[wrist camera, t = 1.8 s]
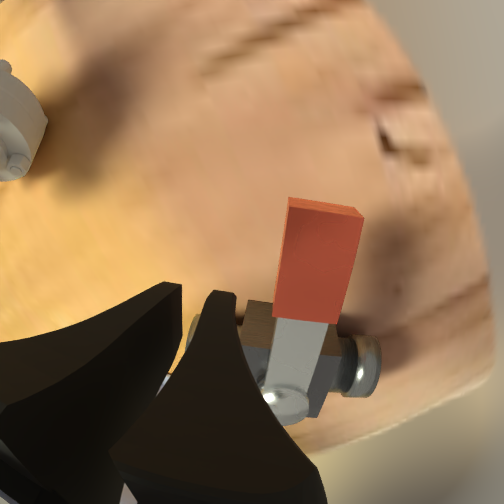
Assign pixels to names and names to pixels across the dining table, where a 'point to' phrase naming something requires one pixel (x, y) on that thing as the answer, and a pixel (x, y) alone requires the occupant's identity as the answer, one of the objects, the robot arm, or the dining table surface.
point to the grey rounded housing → (18, 125)
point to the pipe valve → (329, 362)
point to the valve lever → (307, 298)
